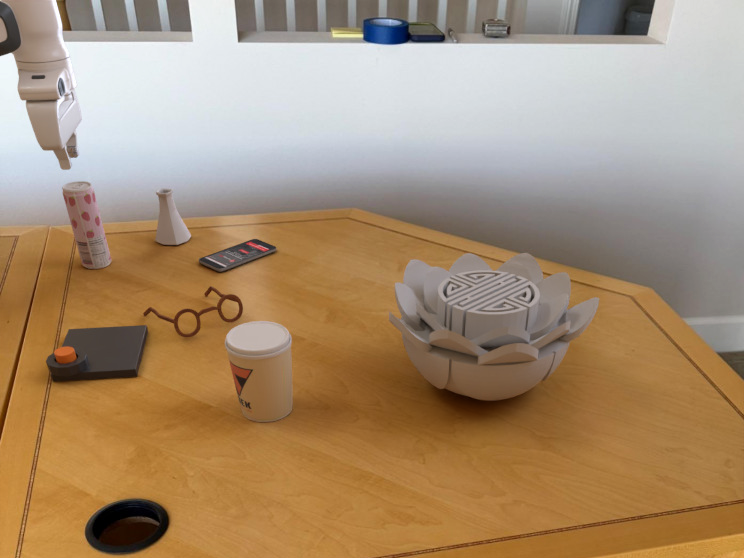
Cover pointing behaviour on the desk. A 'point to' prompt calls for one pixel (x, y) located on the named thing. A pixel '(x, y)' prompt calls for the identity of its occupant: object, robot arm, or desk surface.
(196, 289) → the desk surface
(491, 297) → the decorative bowl
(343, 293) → the desk surface
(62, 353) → the power button
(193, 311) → the glasses
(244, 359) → the coffee cup
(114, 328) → the scale
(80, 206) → the beverage can
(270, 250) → the smartphone
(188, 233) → the flask
